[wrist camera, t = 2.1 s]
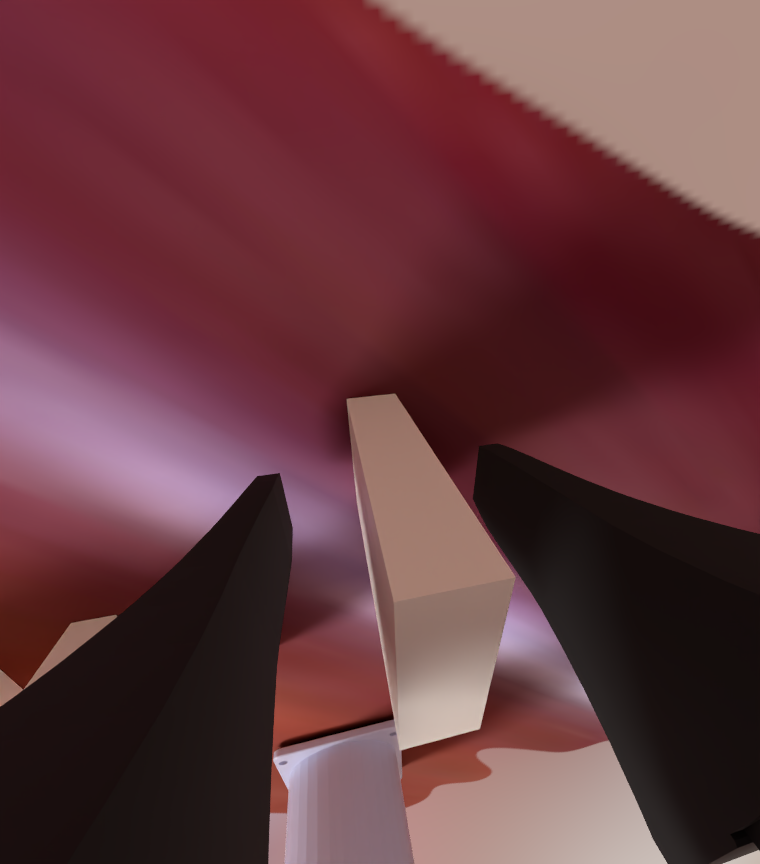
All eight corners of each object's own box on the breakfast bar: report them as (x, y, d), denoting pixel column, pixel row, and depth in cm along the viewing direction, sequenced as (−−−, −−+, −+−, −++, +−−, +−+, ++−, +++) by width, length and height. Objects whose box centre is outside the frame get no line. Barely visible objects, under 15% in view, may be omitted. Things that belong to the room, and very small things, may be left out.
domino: (397, 499, 12) (479, 729, 6) (357, 505, 12) (399, 750, 6) (395, 393, 10) (515, 577, 4) (346, 398, 10) (394, 602, 4)
